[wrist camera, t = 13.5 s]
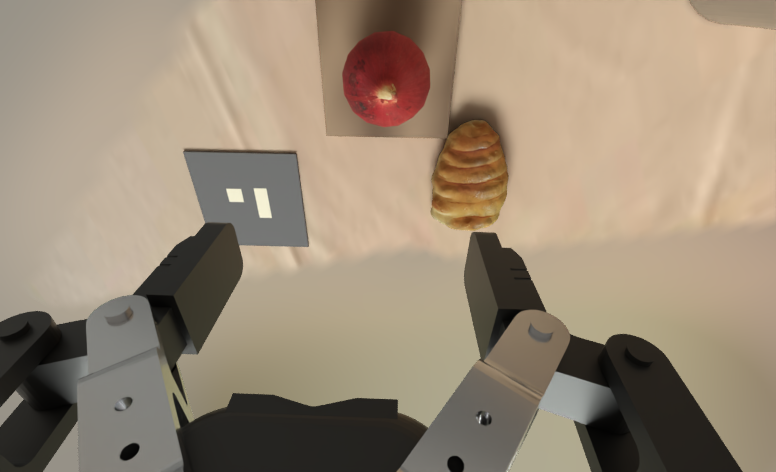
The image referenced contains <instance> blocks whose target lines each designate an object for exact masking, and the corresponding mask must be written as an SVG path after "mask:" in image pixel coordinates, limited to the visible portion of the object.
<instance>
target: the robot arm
mask: <svg viewBox="0 0 776 472" xmlns="http://www.w3.org/2000/svg"><path fill="white" fill-rule="evenodd" d="M690 3H691V5H692V6H693V8H694V9H695V10H696V11H697V13H698V14H699V15H701V16H702V17H704V18H705V19H707V20H708V21H712V22H715V23H719V24H726V25H736V26H746V27H756V28H764V29H773V30H776V0H690ZM242 270H243V260H242V256H241V252H240V248H239V244H238V240H237V236H236V232H235V228H234V226H233V225H232V224H231V223H217V222H207V223H205V224H204V226H203V227H202V228H201V229H200V230H199V232H198V233H197V234H196V235H195V236H190V237H189V238H187V239H185V240H184V241H182V242H181V243H179V244H177V245H176V246H175V247H174V248H173V250H172V251H171V252H170V253H169V254H168V255H167V258H165V259H164V260H163V261H162V262H161V263H160V266H158V267H157V268H156V269H155V270H154V271H153V272H152V273H151V275H150V276H149V277H148V278H147V279H146V280H145V281H144V282H143V284H142V285H141V286H140V287H139V288H138V289H137V290H136V292H135V293H134V294H133V295H128V296H122V297H119V298H115V299H113V300H110V301H108V302H106V303H104V304H103V305H101V306H99V307H98V308H97V309H96V310H94V311H93V312H92V313H91V314H90V316H89V317H88V319H85V320H79V321H74V322H69V323H64V324H59V325H56V323H55V322H54V320H53V319H52V317H51V316H50V315H49V314H48V313H46V312H40V311H34V312H27V313H23V314H19V315H16V316H13V317H10V318H8V319H6V320H4V321H2V322H0V407H1V406H2V405H3V403H5V401H6V400H7V399H8V398H9V397H10V396H11V395H12V394H13V392H14V391H15V390H16V391H17V392H18V393H19V395H20V396H21V397H22V398H23V399H24V400H23V401H22V402H21V403H20V404H19V406H18V407H17V408H16V409H15V410H14V411H13V413H12V414H11V415H10V416H9V417H8V418H7V420H6V421H5V422H4V423H3V424H2V425H1V427H0V472H43V470H44V469H45V468H46V466H47V465H48V463H49V462H50V460H51V459H52V457H53V456H54V454H55V453H56V452H57V450H58V449H59V447H60V446H61V444H62V443H63V441H64V440H65V438H66V437H67V435H68V434H69V433H70V431H71V429H72V428H73V427H74V425H75V424H76V422H77V421H78V453H79V472H509V471H510V469H511V467H512V465H513V462H514V460H515V458H516V456H517V454H518V452H519V450H520V448H521V446H522V444H523V442H524V440H525V437H526V435H527V433H528V431H529V429H530V427H531V425H532V423H533V421H534V419H535V417H536V415H537V412H538V411H539V409H542V410H545V411H548V412H551V413H554V414H557V415H559V416H562V417H565V418H568V419H571V420H574V423H575V426H576V428H577V431H578V434H579V437H580V440H581V443H582V446H583V449H584V452H585V455H586V458H587V460H588V463H589V466H590V469H591V472H742V470H741V469H740V467H739V466H738V464H737V463H736V461H735V460H734V458H733V457H732V455H731V453H730V452H729V450H728V449H727V447H726V446H725V444H724V443H723V442H722V440H721V439H720V437H719V435H718V434H717V432H716V431H715V429H714V428H713V426H712V425H711V423H710V422H709V420H708V419H707V417H706V416H705V414H704V413H703V411H702V409H701V408H700V406H699V405H698V403H697V402H696V400H695V399H694V397H693V396H692V394H691V393H690V391H689V390H688V388H687V387H686V385H685V384H684V382H683V381H682V379H681V378H680V376H679V375H678V373H677V372H676V370H675V369H674V367H673V366H672V364H671V363H670V361H669V359H668V358H667V357H666V356H665V354H664V353H663V352H662V351H661V350H659V349H658V348H657V347H656V346H654V345H653V344H651V343H650V342H648V341H646V340H644V339H642V338H639V337H636V336H633V335H627V334H618V335H613V336H611V337H610V338H609V339H608V340H607V342H606V344H605V345H603V344H600V343H596V342H593V341H589V340H585V339H582V338H579V337H576V336H573V335H571V334H570V333H569V331H568V329H567V327H566V326H565V325H564V324H563V322H561V321H560V320H559V319H558V318H556V317H555V316H553V315H551V314H549V313H547V312H546V310H545V307H544V305H543V303H542V301H541V299H540V297H539V294H538V292H537V290H536V288H535V286H534V283H533V281H532V280H531V277H530V275H529V273H528V271H527V268H526V266H525V264H524V262H523V260H522V258H521V257H520V256H519V255H518V254H517V253H516V252H515V251H514V250H513V249H511V248H502V247H501V244H500V242H499V239H498V237H497V234H496V233H487V232H472V234H471V237H470V243H469V248H468V254H467V259H466V265H465V271H464V281H465V282H464V283H465V289H466V293H467V298H468V302H469V307H470V312H471V316H472V321H473V325H474V330H475V334H476V338H477V343H478V347H479V352H480V357H481V359H479V360H478V361H477V362H476V363H475V365H474V366H473V367H472V368H471V370H470V371H469V372H468V374H467V375H466V377H465V378H464V380H463V381H462V382H461V384H460V385H459V386H458V388H457V389H456V390H455V392H454V393H453V395H452V396H451V398H450V399H449V400H448V402H447V403H446V404H445V406H444V407H443V409H442V410H441V411H440V413H439V414H438V415H437V417H436V418H435V420H434V421H433V422H432V424H431V425H430V427H429V428H427V427H426V426H425V425H423V424H422V423H420V422H418V421H417V420H415V419H413V418H411V417H409V416H406V415H403V414H400V413H398V412H397V411H398V409H397V408H398V400H393V399H367V398H355V399H350V400H346V401H340V402H336V403H331V404H326V405H321V406H316V407H312V406H308V405H304V404H301V403H298V402H294V401H291V400H288V399H285V398H282V397H279V396H275V395H263V394H236V393H233V394H232V397H231V399H230V402H229V404H228V406H227V407H225V408H221V409H218V410H215V411H212V412H210V413H207V414H205V415H203V416H201V417H199V418H197V419H194V416H193V413H192V410H191V406H190V403H189V400H188V396H187V393H186V389H185V385H184V382H183V379H182V375H181V372H180V368H179V366H178V364H177V360H178V359H179V357H180V356H181V354H198V353H199V351H200V349H201V348H202V346H203V344H204V342H205V340H206V339H207V337H208V335H209V333H210V331H211V330H212V328H213V326H214V324H215V322H216V321H217V319H218V317H219V315H220V313H221V312H222V310H223V308H224V306H225V305H226V302H227V301H228V299H229V297H230V295H231V293H232V292H233V290H234V288H235V287H236V285H237V283H238V281H239V279H240V277H241V275H242Z"/></svg>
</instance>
